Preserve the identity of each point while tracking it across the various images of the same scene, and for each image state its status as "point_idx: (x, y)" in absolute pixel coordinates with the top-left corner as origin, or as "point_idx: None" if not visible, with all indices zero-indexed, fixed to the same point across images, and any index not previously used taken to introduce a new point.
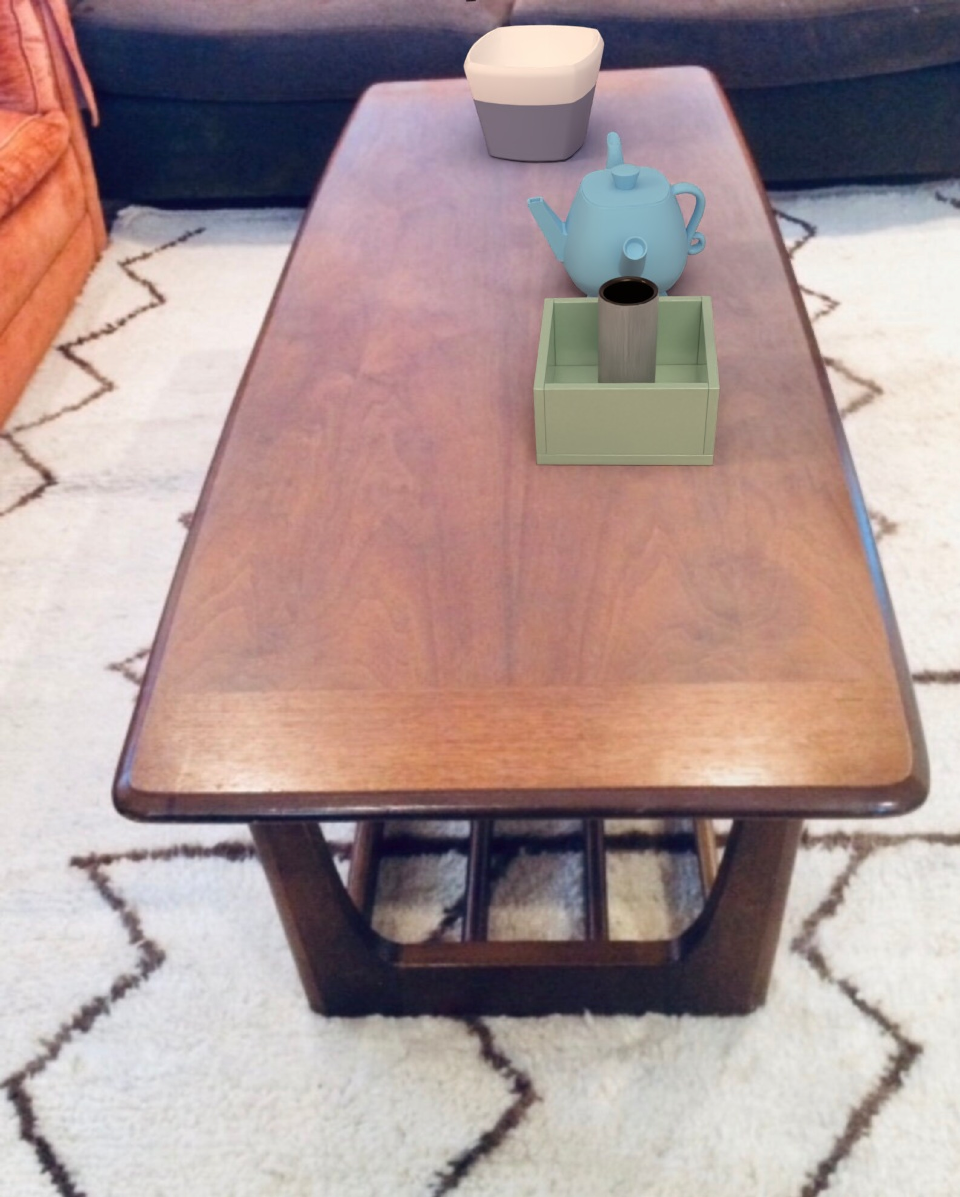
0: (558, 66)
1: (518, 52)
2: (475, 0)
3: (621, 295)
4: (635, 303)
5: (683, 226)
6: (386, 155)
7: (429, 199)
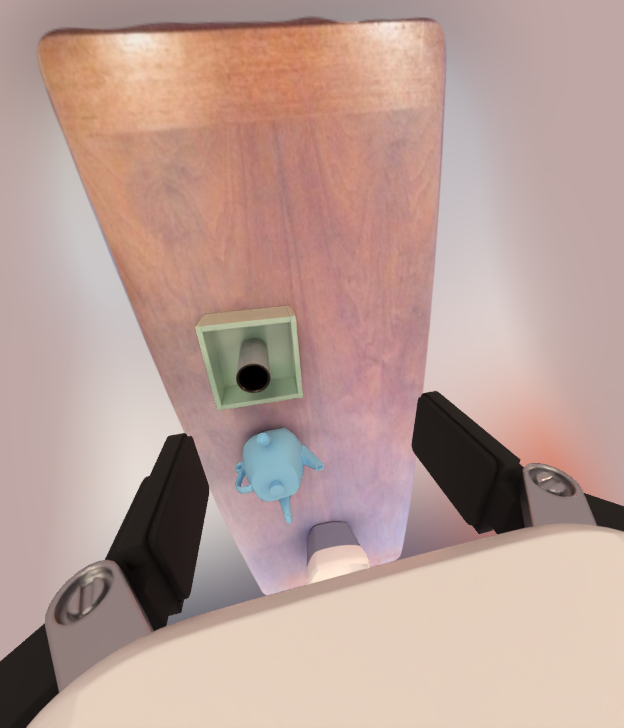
0: (325, 568)
1: None
2: (421, 396)
3: (259, 384)
4: (246, 365)
5: (244, 469)
6: (390, 515)
7: (368, 489)
